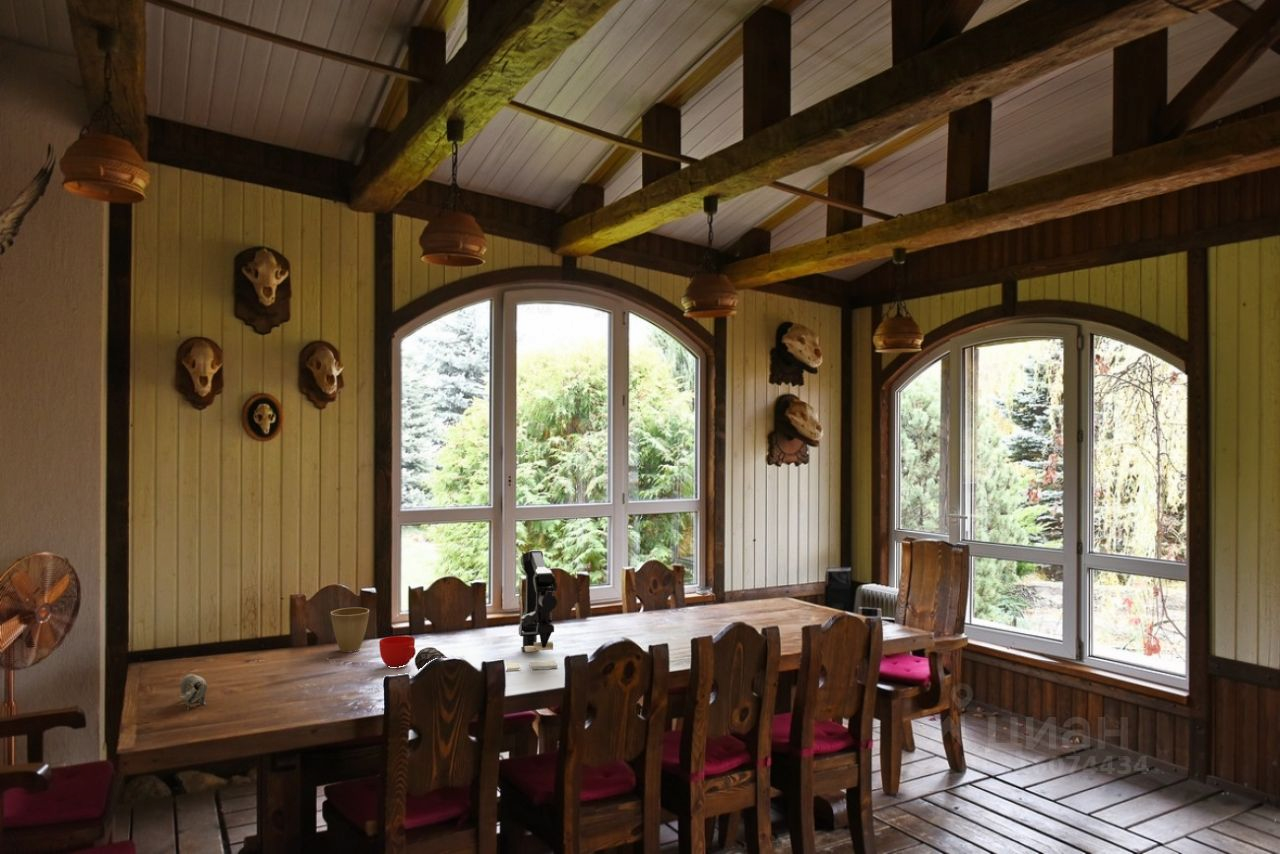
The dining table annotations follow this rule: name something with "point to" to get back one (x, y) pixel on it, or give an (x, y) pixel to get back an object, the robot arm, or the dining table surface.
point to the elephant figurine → (193, 689)
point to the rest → (543, 664)
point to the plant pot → (349, 627)
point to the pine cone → (427, 656)
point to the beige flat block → (538, 647)
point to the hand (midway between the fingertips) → (543, 646)
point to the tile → (512, 666)
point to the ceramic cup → (397, 650)
